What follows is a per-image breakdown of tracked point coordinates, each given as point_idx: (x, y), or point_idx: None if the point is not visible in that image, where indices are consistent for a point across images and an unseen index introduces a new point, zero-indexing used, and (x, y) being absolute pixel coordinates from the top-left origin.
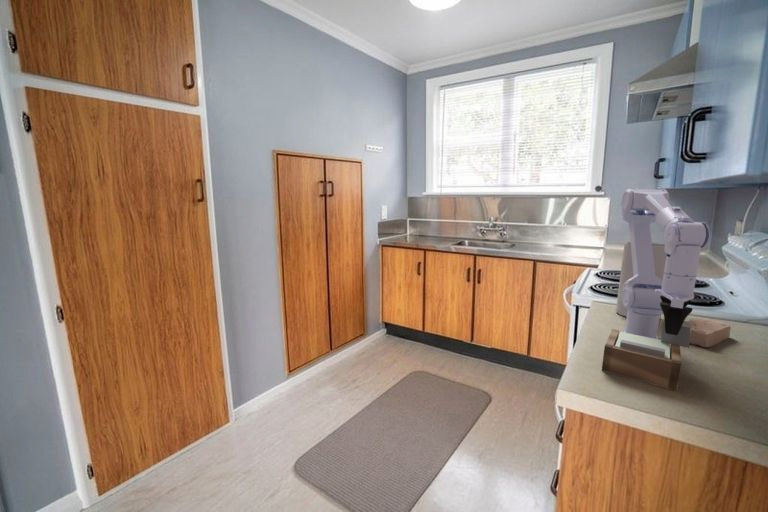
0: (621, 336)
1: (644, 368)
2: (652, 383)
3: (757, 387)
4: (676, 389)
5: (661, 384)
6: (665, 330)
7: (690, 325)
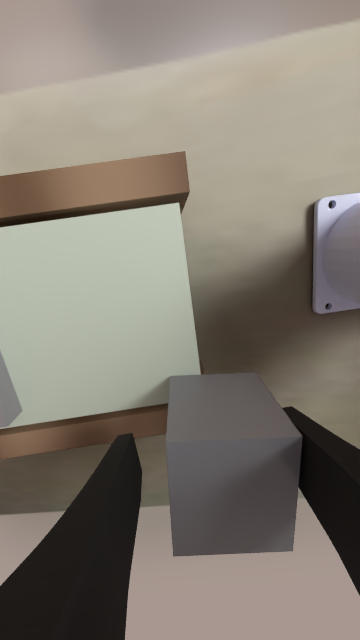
0: (98, 227)
1: None
2: None
3: None
4: None
5: None
6: (112, 444)
7: (217, 552)
